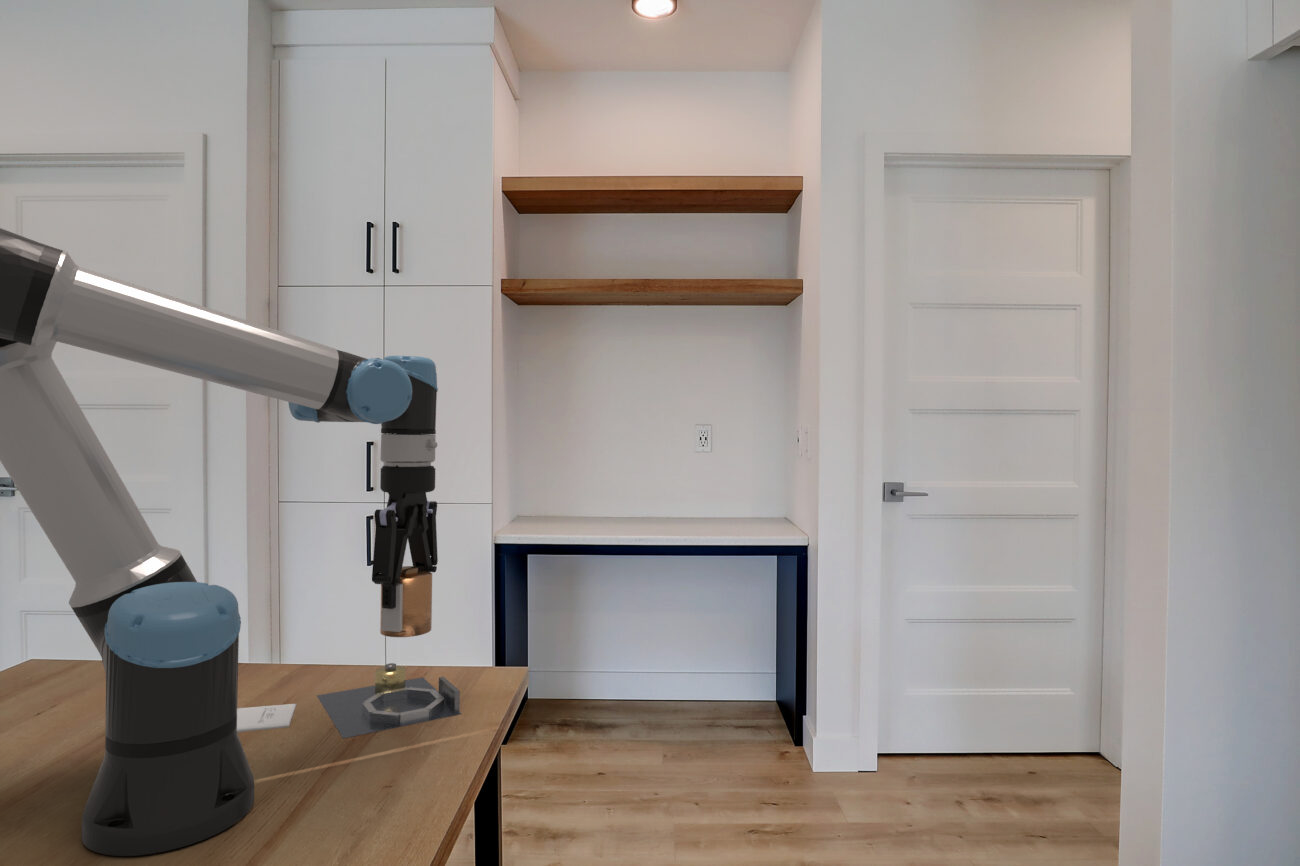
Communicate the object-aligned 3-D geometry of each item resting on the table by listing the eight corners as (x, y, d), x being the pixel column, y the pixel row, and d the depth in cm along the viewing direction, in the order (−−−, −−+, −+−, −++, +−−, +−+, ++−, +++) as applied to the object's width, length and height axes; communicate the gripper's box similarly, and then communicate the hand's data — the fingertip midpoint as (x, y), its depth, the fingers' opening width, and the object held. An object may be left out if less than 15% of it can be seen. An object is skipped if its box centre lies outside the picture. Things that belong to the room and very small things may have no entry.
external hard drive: (198, 722, 104) (296, 712, 108) (182, 745, 96) (288, 734, 100) (198, 710, 104) (296, 701, 108) (183, 733, 96) (289, 722, 100)
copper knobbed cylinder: (430, 635, 105) (431, 572, 104) (377, 638, 103) (378, 573, 103) (432, 622, 111) (433, 563, 111) (382, 625, 110) (383, 564, 110)
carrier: (462, 717, 106) (462, 687, 106) (343, 741, 97) (343, 709, 97) (422, 680, 121) (423, 653, 121) (316, 698, 112) (317, 670, 112)
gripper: (396, 468, 96) (393, 645, 97) (462, 461, 116) (460, 608, 116) (343, 467, 98) (341, 640, 98) (418, 460, 117) (416, 605, 118)
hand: (406, 623), depth 107 cm, fingers closed on copper knobbed cylinder, 7 cm apart
